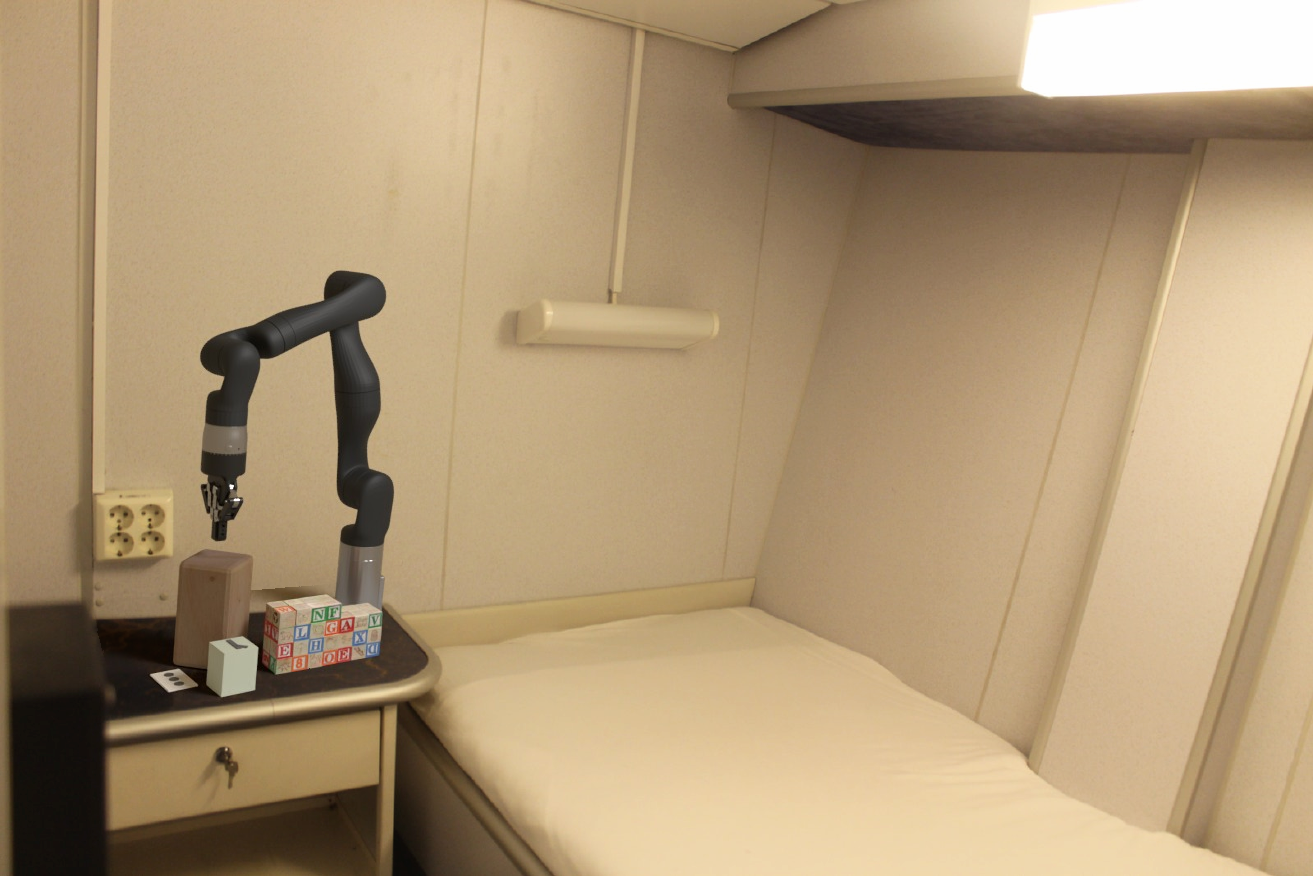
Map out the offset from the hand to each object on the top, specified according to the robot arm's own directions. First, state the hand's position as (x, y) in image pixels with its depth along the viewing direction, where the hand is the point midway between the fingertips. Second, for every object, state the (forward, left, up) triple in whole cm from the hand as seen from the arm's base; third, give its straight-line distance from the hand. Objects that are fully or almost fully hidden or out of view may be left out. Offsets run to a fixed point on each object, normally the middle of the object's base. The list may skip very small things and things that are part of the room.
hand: (218, 539), depth 181 cm
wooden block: (0, 0, -24) cm, 24 cm away
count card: (+9, +6, -23) cm, 26 cm away
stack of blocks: (-18, +9, -24) cm, 31 cm away
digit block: (+2, +13, -23) cm, 27 cm away
